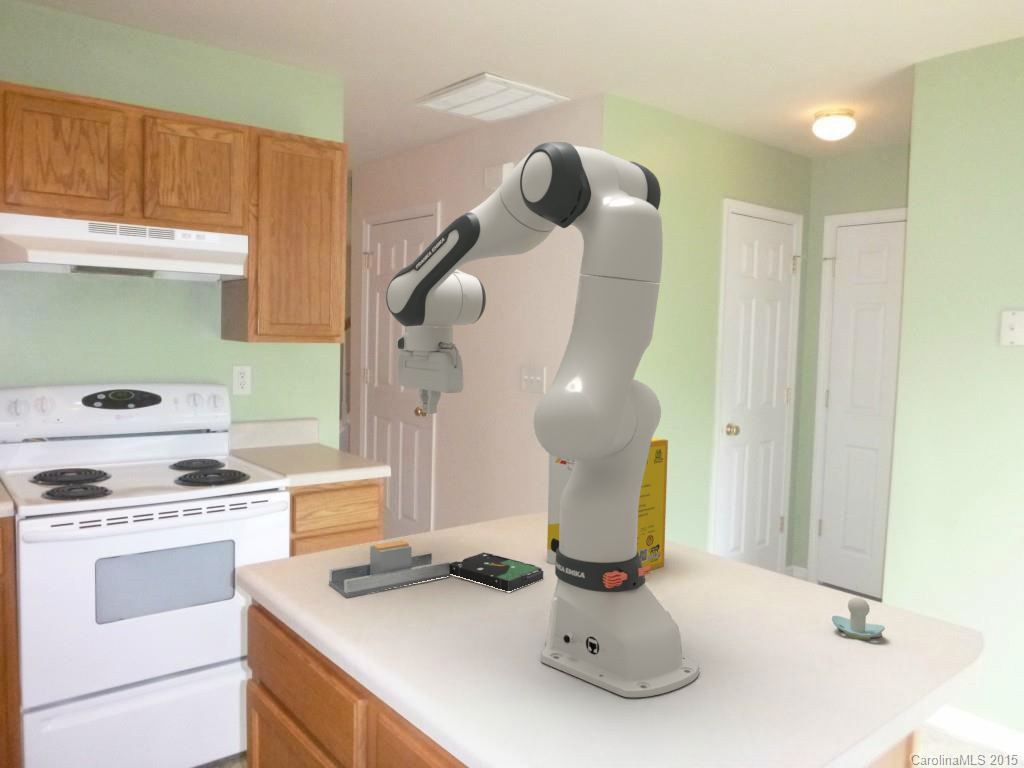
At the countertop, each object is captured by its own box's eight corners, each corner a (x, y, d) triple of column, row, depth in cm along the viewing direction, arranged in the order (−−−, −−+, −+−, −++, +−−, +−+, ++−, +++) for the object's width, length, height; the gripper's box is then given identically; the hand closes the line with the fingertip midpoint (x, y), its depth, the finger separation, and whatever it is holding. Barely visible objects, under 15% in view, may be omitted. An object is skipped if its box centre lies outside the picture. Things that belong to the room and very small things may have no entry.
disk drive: (447, 578, 141) (509, 595, 131) (447, 563, 140) (509, 580, 131) (483, 565, 149) (544, 580, 140) (483, 551, 149) (544, 566, 139)
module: (411, 577, 136) (411, 544, 136) (380, 583, 133) (380, 549, 132) (400, 570, 140) (400, 538, 140) (370, 576, 136) (370, 543, 136)
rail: (449, 577, 139) (449, 562, 139) (346, 598, 128) (347, 581, 127) (428, 566, 146) (428, 551, 145) (329, 584, 134) (329, 569, 134)
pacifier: (836, 624, 121) (829, 635, 116) (838, 585, 120) (831, 594, 115) (887, 635, 117) (881, 647, 112) (889, 595, 116) (884, 605, 111)
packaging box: (546, 562, 149) (549, 436, 148) (601, 547, 160) (604, 430, 159) (609, 583, 137) (613, 447, 136) (664, 566, 148) (668, 439, 147)
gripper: (472, 343, 140) (471, 417, 141) (419, 341, 157) (419, 407, 158) (442, 343, 137) (441, 419, 138) (392, 340, 153) (391, 408, 154)
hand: (429, 412), depth 148 cm, fingers closed
